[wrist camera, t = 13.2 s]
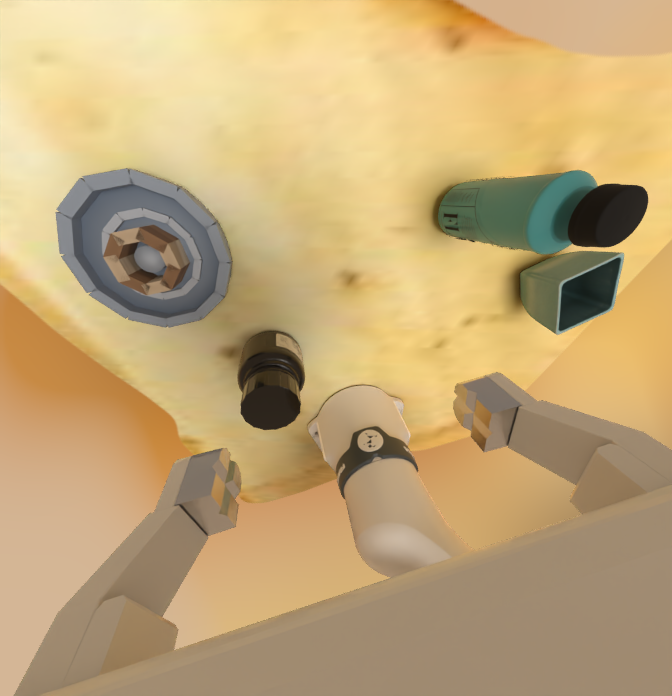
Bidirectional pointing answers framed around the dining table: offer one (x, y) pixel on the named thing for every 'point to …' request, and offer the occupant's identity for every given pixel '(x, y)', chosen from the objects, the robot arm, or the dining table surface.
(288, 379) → the ink bottle
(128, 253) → the bead loop
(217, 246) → the groove tray
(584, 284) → the flower pot
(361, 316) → the dining table surface
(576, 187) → the beverage bottle
